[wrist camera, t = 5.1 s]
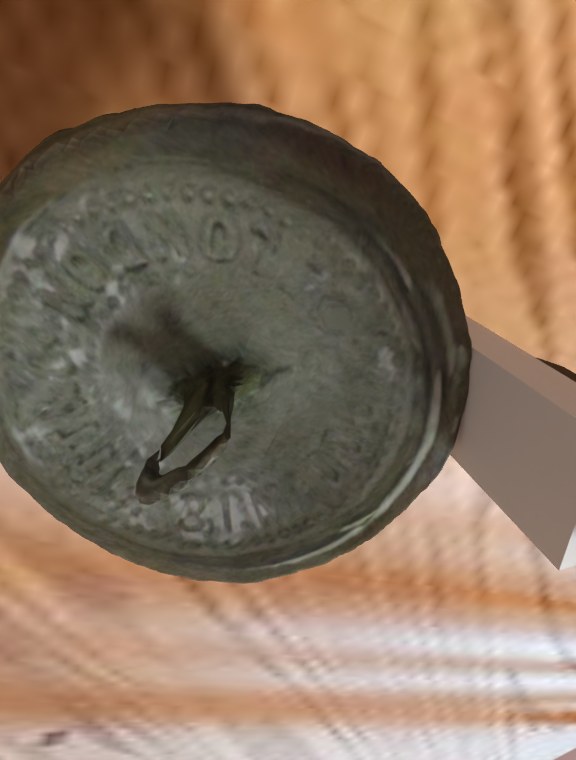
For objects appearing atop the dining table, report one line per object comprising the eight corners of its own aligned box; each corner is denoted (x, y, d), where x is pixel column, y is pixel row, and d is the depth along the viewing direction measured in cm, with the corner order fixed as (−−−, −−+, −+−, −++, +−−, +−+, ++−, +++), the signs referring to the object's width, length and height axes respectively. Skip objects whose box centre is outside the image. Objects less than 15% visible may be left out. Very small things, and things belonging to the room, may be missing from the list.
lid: (335, 502, 16) (411, 645, 11) (-16, 528, 12) (-90, 743, 8) (431, 145, 11) (621, 167, 7) (-93, 38, 8) (-359, -49, 3)
